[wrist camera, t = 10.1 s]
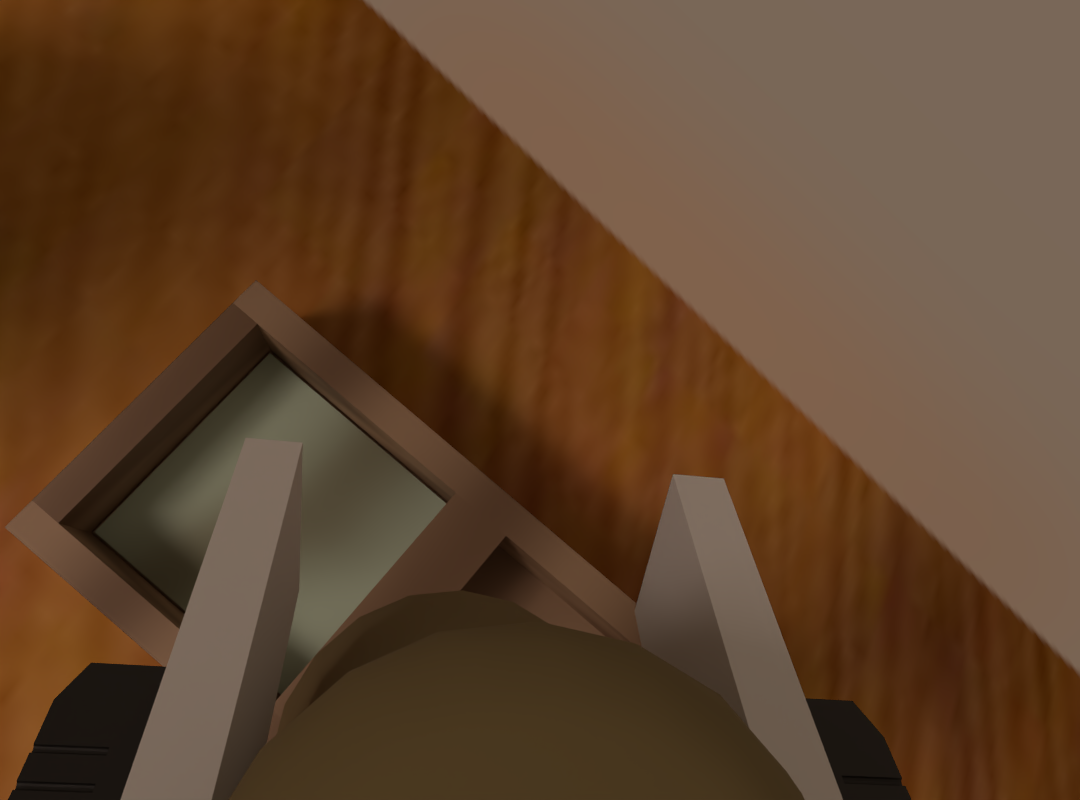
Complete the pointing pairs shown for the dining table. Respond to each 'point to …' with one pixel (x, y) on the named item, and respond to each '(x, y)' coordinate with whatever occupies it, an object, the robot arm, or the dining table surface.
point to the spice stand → (326, 503)
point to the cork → (502, 716)
